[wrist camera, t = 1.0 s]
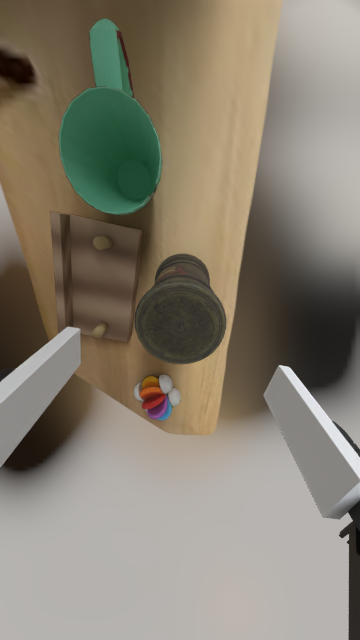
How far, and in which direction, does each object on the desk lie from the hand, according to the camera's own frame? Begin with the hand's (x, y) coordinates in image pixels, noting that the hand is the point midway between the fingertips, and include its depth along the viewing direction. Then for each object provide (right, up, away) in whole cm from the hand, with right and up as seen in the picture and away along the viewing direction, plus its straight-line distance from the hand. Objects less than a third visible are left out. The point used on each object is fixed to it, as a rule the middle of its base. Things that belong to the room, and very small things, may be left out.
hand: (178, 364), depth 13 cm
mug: (-6, +25, +14) cm, 29 cm away
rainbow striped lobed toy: (-5, -12, +31) cm, 34 cm away
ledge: (-13, +10, +21) cm, 26 cm away
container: (0, +10, +21) cm, 23 cm away
